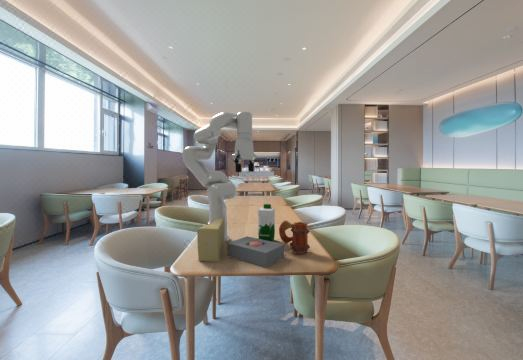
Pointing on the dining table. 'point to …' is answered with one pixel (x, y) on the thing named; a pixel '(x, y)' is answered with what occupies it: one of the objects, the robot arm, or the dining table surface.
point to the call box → (256, 251)
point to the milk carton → (266, 223)
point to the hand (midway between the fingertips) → (244, 171)
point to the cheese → (211, 241)
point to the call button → (255, 243)
